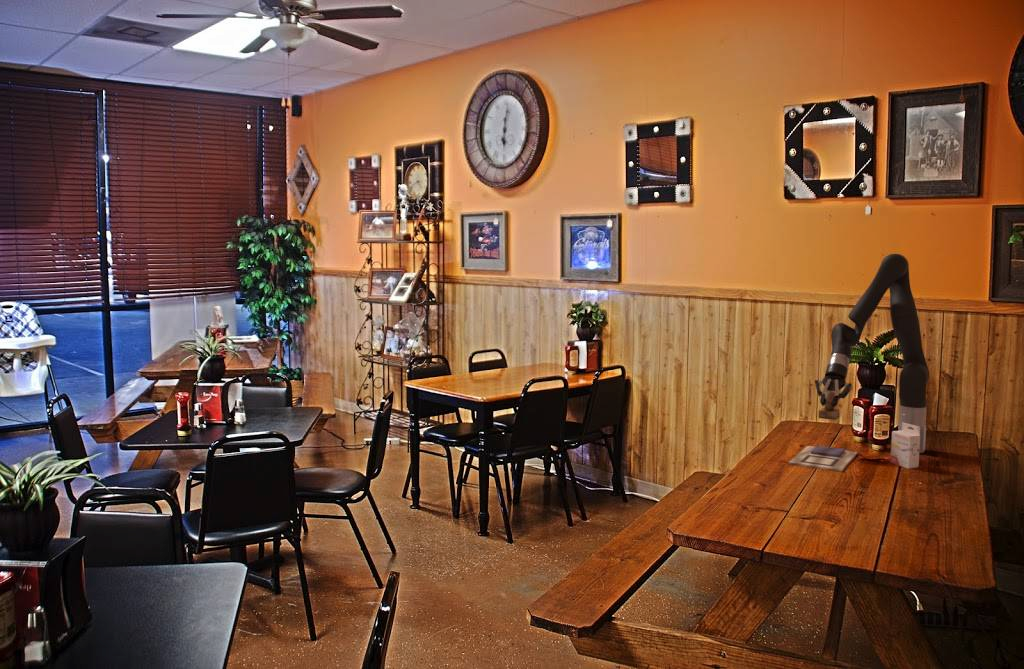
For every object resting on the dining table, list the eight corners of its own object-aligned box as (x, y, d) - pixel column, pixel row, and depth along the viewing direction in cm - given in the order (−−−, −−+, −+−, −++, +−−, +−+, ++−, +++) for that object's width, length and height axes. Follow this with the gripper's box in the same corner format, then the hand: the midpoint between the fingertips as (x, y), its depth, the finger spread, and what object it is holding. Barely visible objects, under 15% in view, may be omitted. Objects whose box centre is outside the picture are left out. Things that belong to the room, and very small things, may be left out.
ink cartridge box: (889, 462, 301) (891, 422, 299) (899, 461, 303) (902, 421, 301) (908, 469, 293) (910, 427, 291) (919, 467, 295) (921, 426, 293)
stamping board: (857, 454, 313) (857, 449, 313) (841, 471, 289) (841, 466, 289) (807, 447, 323) (807, 443, 322) (788, 464, 299) (788, 459, 299)
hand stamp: (839, 416, 313) (840, 392, 312) (835, 419, 308) (836, 394, 307) (822, 415, 316) (823, 390, 315) (818, 417, 311) (819, 393, 310)
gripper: (816, 360, 320) (807, 397, 311) (855, 363, 312) (846, 401, 303) (819, 372, 325) (810, 408, 316) (858, 375, 317) (849, 413, 308)
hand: (828, 405), depth 310 cm, fingers closed on hand stamp, 3 cm apart
